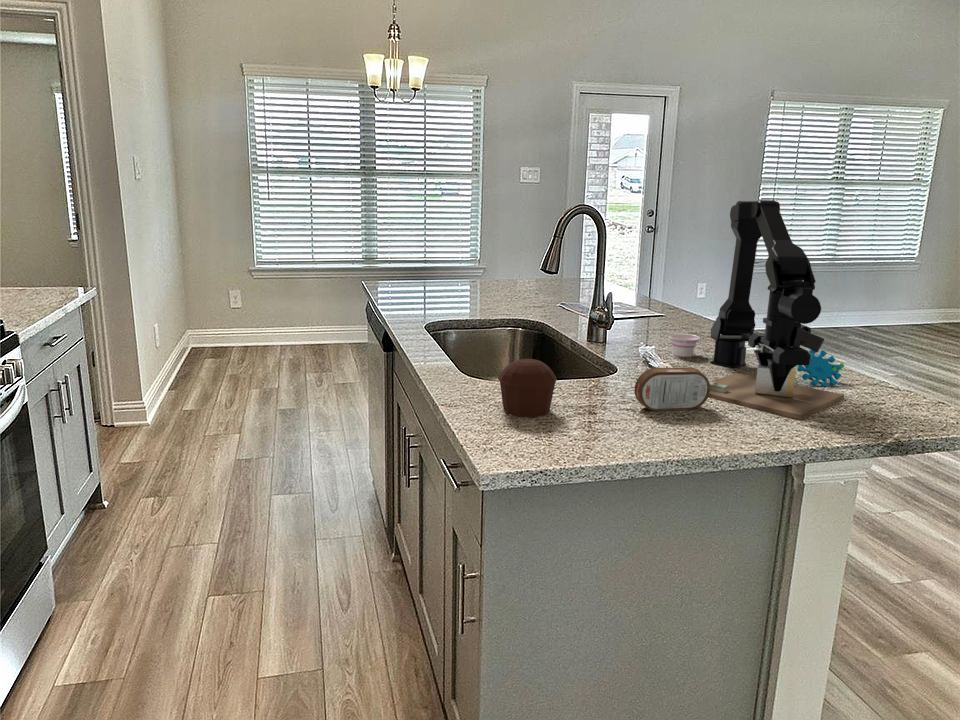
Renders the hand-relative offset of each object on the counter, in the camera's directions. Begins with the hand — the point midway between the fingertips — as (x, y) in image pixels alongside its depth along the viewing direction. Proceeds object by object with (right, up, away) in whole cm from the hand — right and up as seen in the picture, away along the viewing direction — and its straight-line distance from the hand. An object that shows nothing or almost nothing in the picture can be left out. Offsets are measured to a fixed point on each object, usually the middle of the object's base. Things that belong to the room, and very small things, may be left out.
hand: (773, 388), depth 147 cm
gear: (+16, -1, +11) cm, 19 cm away
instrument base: (-1, -2, +3) cm, 3 cm away
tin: (-24, -4, -8) cm, 25 cm away
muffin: (-53, -4, -10) cm, 54 cm away
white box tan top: (0, -1, 0) cm, 1 cm away
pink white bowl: (-9, +6, +36) cm, 37 cm away
